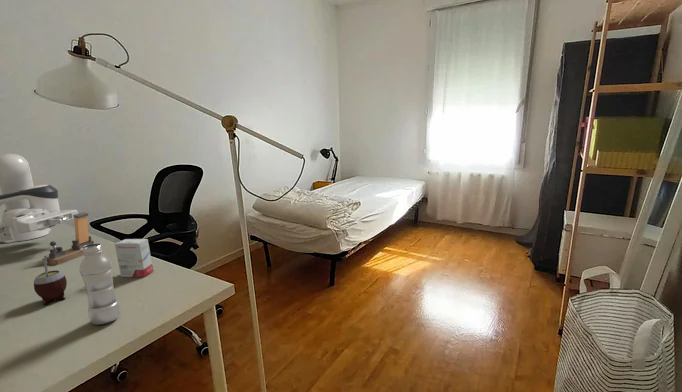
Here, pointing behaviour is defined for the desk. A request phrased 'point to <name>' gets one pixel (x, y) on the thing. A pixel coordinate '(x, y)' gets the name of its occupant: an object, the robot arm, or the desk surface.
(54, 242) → the toggle lever
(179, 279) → the desk surface
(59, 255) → the switch panel
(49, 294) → the mate gourd
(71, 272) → the desk surface
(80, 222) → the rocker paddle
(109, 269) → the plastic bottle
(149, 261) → the ink box
